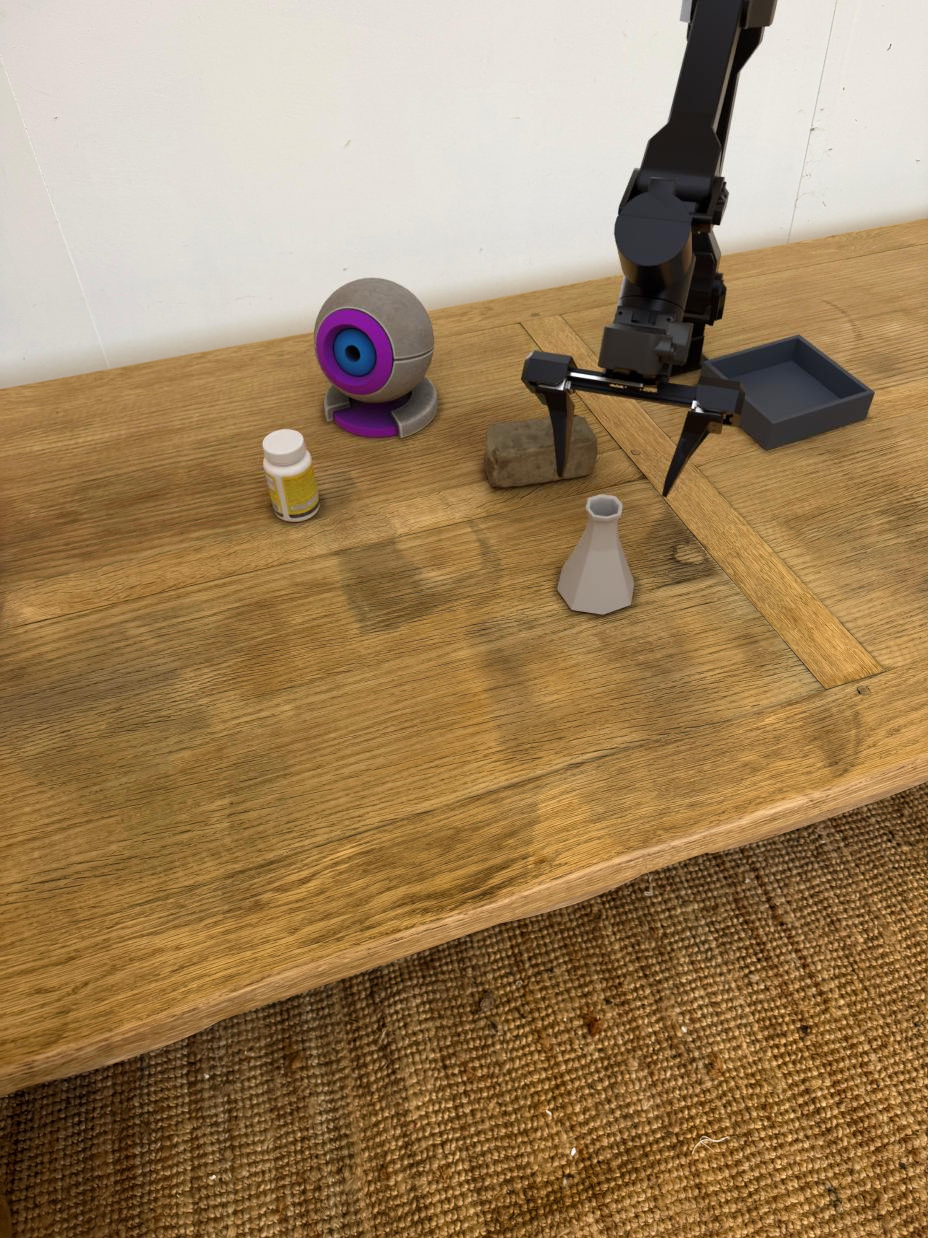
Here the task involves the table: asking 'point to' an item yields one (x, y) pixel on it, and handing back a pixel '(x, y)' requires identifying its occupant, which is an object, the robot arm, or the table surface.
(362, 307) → the webcam
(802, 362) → the dark grey square tray
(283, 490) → the supplement bottle
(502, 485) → the stone block
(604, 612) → the flask
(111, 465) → the table surface
